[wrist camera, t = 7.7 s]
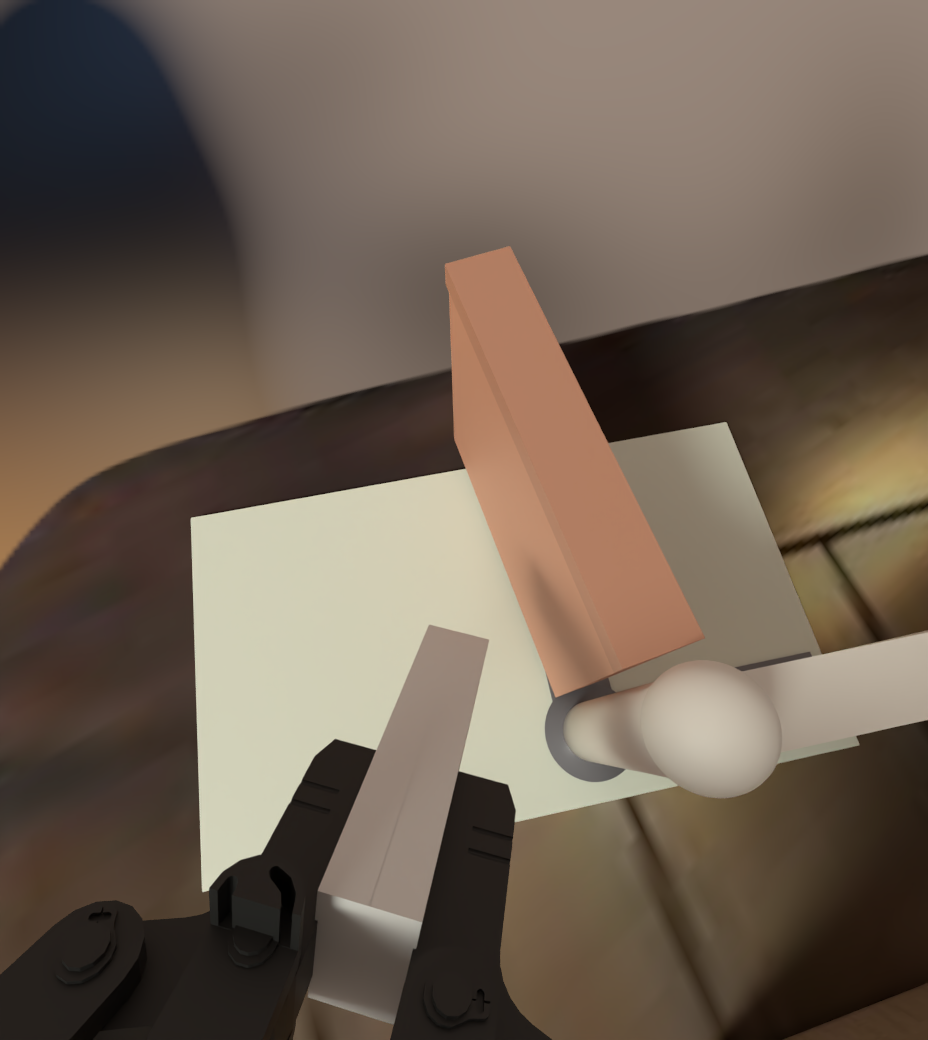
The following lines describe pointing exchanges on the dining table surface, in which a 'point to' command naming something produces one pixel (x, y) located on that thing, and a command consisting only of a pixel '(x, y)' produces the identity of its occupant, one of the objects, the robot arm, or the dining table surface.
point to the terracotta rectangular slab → (554, 487)
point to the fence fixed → (750, 714)
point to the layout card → (455, 606)
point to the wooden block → (879, 1020)
